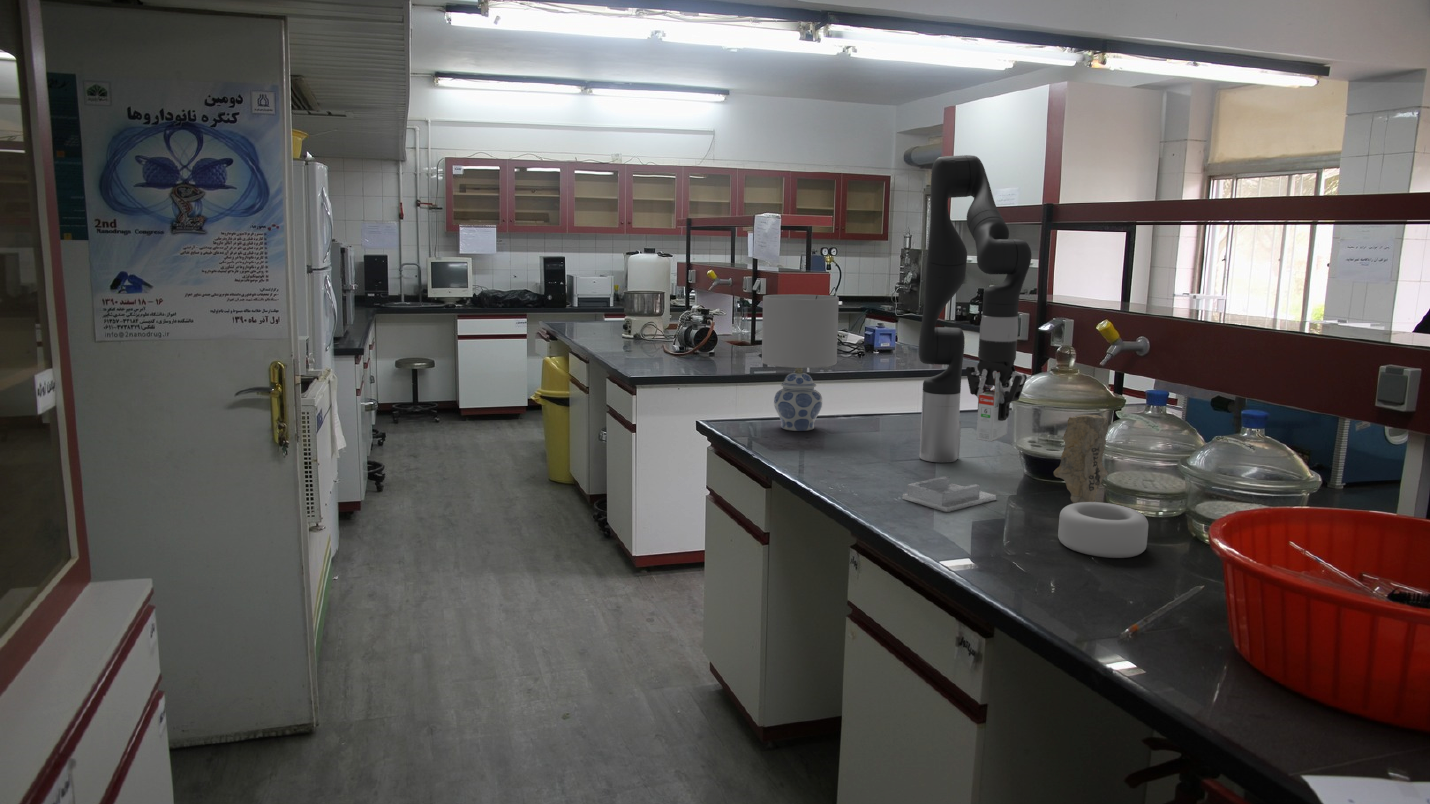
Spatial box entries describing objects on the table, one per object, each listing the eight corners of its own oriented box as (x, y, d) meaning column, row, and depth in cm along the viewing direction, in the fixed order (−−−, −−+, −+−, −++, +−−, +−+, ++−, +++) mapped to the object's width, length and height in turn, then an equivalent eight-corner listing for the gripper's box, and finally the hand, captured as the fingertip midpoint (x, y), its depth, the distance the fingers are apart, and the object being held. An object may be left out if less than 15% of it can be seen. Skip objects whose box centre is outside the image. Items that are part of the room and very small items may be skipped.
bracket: (951, 487, 210) (952, 472, 210) (995, 499, 201) (996, 483, 200) (902, 498, 201) (903, 482, 200) (946, 512, 191) (947, 495, 191)
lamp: (838, 436, 263) (843, 299, 256) (761, 435, 263) (764, 299, 256) (830, 421, 284) (834, 294, 277) (759, 420, 284) (761, 294, 278)
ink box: (975, 440, 196) (978, 371, 193) (991, 433, 202) (995, 366, 199) (992, 442, 194) (995, 373, 191) (1007, 435, 200) (1011, 368, 197)
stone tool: (1099, 503, 198) (1107, 410, 195) (1114, 511, 193) (1122, 416, 189) (1044, 505, 197) (1051, 411, 194) (1057, 513, 191) (1064, 417, 188)
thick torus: (1139, 566, 162) (1142, 528, 160) (1049, 550, 169) (1051, 514, 168) (1151, 542, 174) (1154, 507, 173) (1067, 528, 182) (1069, 495, 181)
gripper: (1039, 340, 190) (1032, 422, 194) (981, 331, 201) (975, 409, 205) (1016, 343, 186) (1010, 427, 190) (958, 334, 197) (953, 414, 201)
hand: (992, 417), depth 197 cm, fingers closed on ink box, 4 cm apart
